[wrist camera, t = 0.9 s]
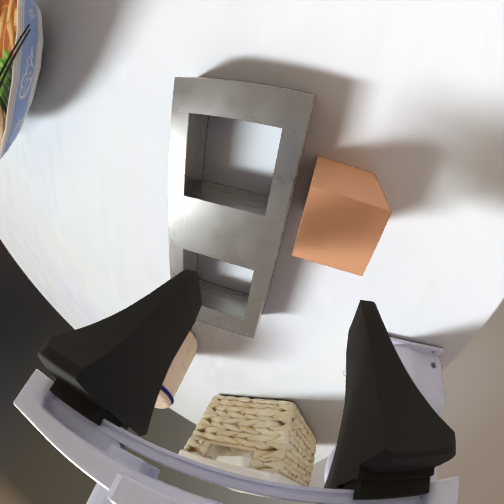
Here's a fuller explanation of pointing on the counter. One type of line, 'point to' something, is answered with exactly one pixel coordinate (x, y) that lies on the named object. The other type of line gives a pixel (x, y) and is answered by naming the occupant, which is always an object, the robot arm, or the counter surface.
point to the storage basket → (254, 440)
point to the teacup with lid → (177, 371)
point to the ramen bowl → (18, 64)
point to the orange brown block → (341, 217)
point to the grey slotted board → (231, 192)
